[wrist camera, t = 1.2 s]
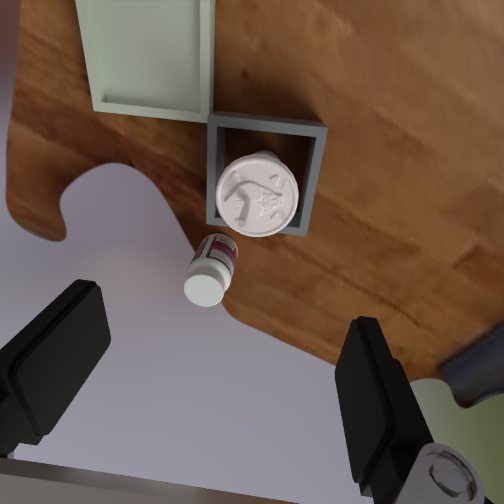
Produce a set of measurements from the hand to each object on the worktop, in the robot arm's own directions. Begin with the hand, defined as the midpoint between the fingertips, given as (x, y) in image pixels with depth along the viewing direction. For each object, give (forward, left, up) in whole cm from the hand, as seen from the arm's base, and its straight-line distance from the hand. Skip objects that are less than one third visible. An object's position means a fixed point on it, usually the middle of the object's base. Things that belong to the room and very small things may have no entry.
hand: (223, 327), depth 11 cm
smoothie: (0, 0, -23) cm, 23 cm away
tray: (-11, -11, -23) cm, 28 cm away
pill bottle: (+10, -4, -23) cm, 25 cm away
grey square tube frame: (0, 0, -23) cm, 23 cm away
